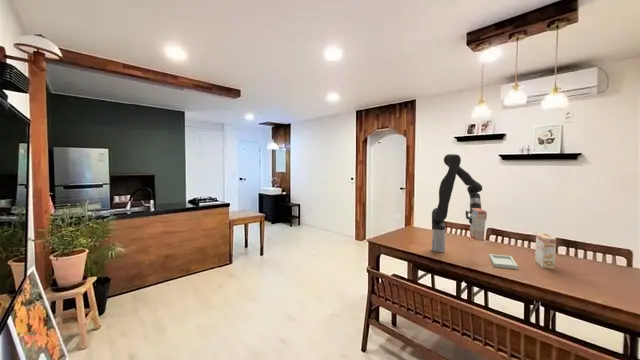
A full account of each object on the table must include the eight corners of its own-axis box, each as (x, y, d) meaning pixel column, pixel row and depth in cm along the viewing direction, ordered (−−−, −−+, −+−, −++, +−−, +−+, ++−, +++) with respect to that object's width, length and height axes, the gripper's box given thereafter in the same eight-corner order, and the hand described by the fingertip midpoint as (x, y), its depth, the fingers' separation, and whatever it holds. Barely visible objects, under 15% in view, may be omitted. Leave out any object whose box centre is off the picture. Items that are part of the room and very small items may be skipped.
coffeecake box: (555, 269, 191) (556, 239, 190) (542, 267, 194) (543, 238, 192) (546, 261, 205) (548, 233, 204) (534, 260, 208) (535, 233, 206)
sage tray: (493, 266, 196) (493, 263, 196) (489, 256, 216) (489, 253, 216) (517, 269, 191) (518, 265, 191) (511, 259, 211) (511, 256, 211)
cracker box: (484, 241, 205) (486, 211, 203) (475, 240, 206) (477, 210, 205) (478, 236, 219) (480, 208, 217) (469, 235, 220) (471, 207, 218)
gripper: (465, 201, 224) (465, 220, 214) (486, 202, 219) (488, 221, 209) (464, 207, 230) (464, 226, 220) (485, 209, 224) (487, 227, 214)
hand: (476, 223), depth 214 cm, fingers closed on cracker box, 6 cm apart
